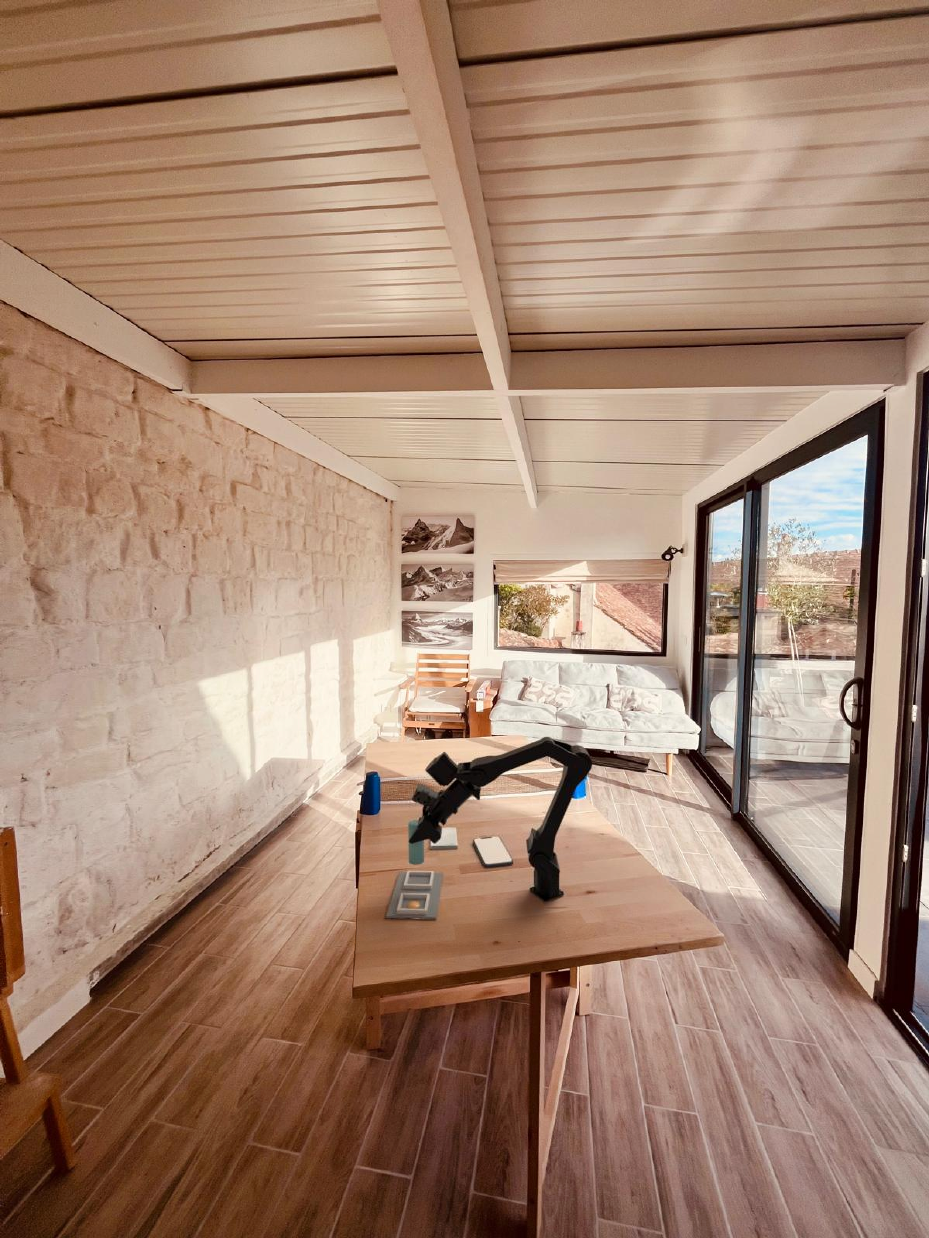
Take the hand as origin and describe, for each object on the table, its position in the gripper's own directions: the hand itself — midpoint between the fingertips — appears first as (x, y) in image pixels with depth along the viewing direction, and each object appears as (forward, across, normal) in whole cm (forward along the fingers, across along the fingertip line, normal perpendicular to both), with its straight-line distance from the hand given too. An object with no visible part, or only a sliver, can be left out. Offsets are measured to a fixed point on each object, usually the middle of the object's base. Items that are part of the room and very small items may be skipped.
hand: (411, 838), depth 145 cm
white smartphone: (-5, -20, +25) cm, 32 cm away
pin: (+3, 0, +5) cm, 6 cm away
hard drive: (+6, -28, +14) cm, 32 cm away
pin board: (+8, +3, +11) cm, 14 cm away
